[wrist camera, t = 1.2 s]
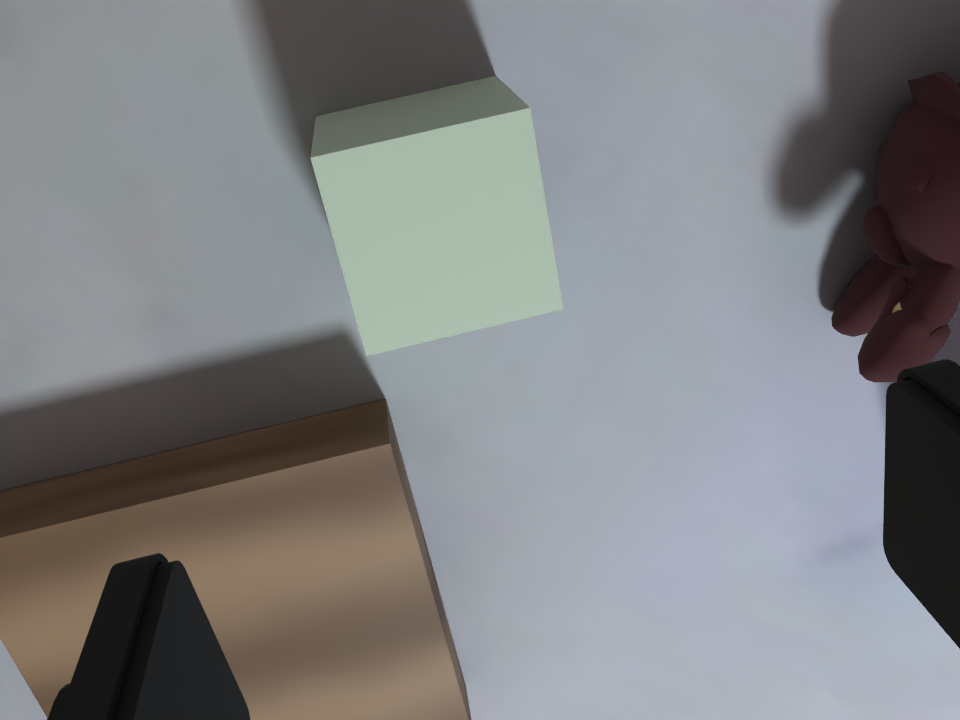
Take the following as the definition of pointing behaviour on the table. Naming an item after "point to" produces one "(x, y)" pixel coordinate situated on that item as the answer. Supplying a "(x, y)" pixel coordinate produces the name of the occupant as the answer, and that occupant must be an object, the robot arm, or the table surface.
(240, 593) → the walnut base
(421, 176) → the sage cube
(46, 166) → the table surface
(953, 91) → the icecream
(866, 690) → the table surface
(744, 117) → the table surface
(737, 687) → the table surface
